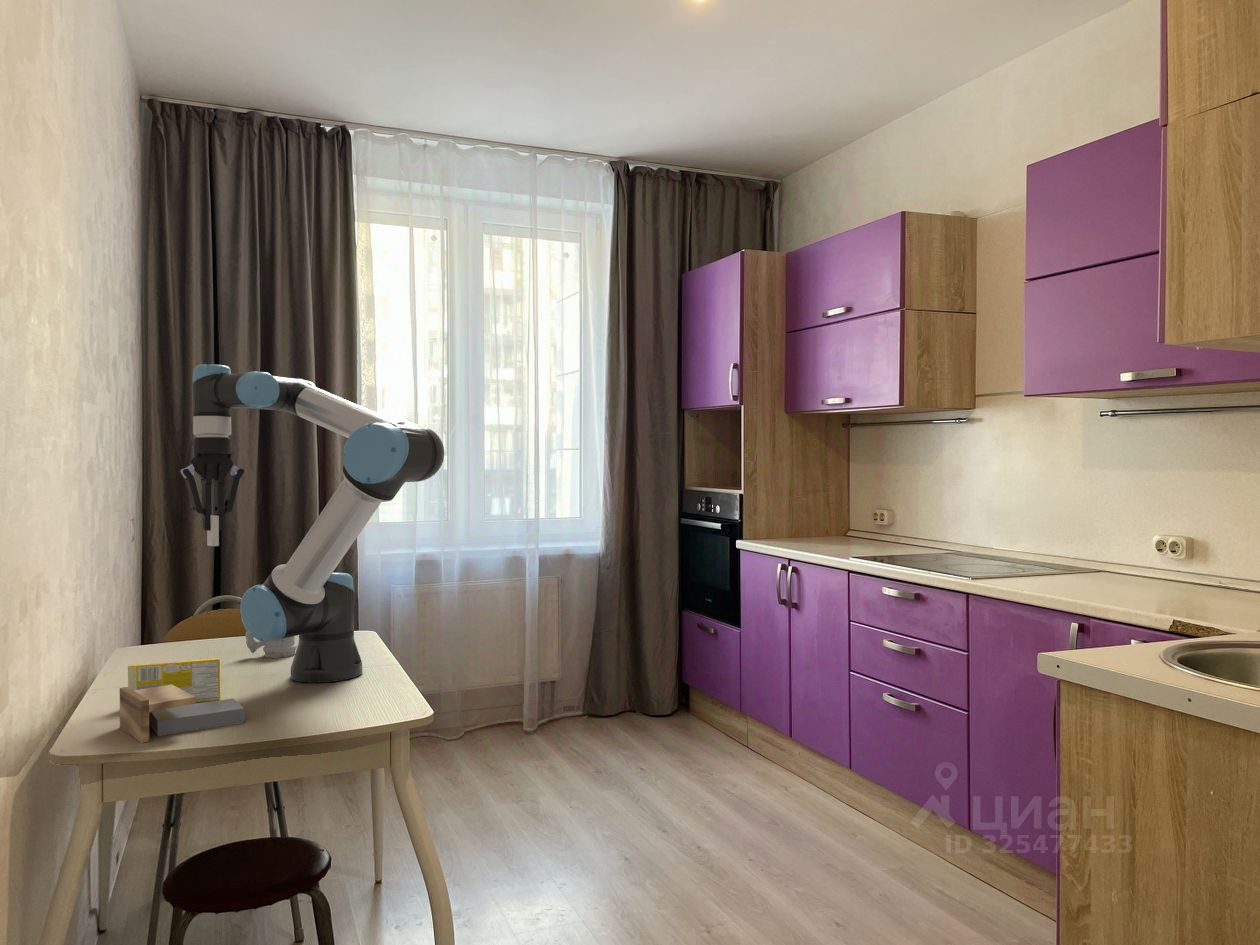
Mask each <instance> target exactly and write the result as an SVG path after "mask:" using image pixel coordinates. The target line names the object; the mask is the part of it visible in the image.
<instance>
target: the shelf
mask: <svg viewBox="0 0 1260 945" xmlns="http://www.w3.org/2000/svg"><path fill="white" fill-rule="evenodd" d="M196 703H197V702H196V697H195V696H193V695H191V694H189V693H187V692H185V691H183V690H181V689H180V688H178V687H176V686H174V685H165V686H159V687H152V688H146V689H139V690H132V689H130V688H128V686H123V687H119V728H120V729H121V730H122V731H124V732H125V731H126V732H125V733H127V734H128V735H129V736H131V737H132V738H134V739H135V740H136V741H138V742H139V743H141V744H144V743H149V742H150V712H151V711H156V710H162V709H168V708H174V707H180V706H186V705H191V704H196Z"/></svg>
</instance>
